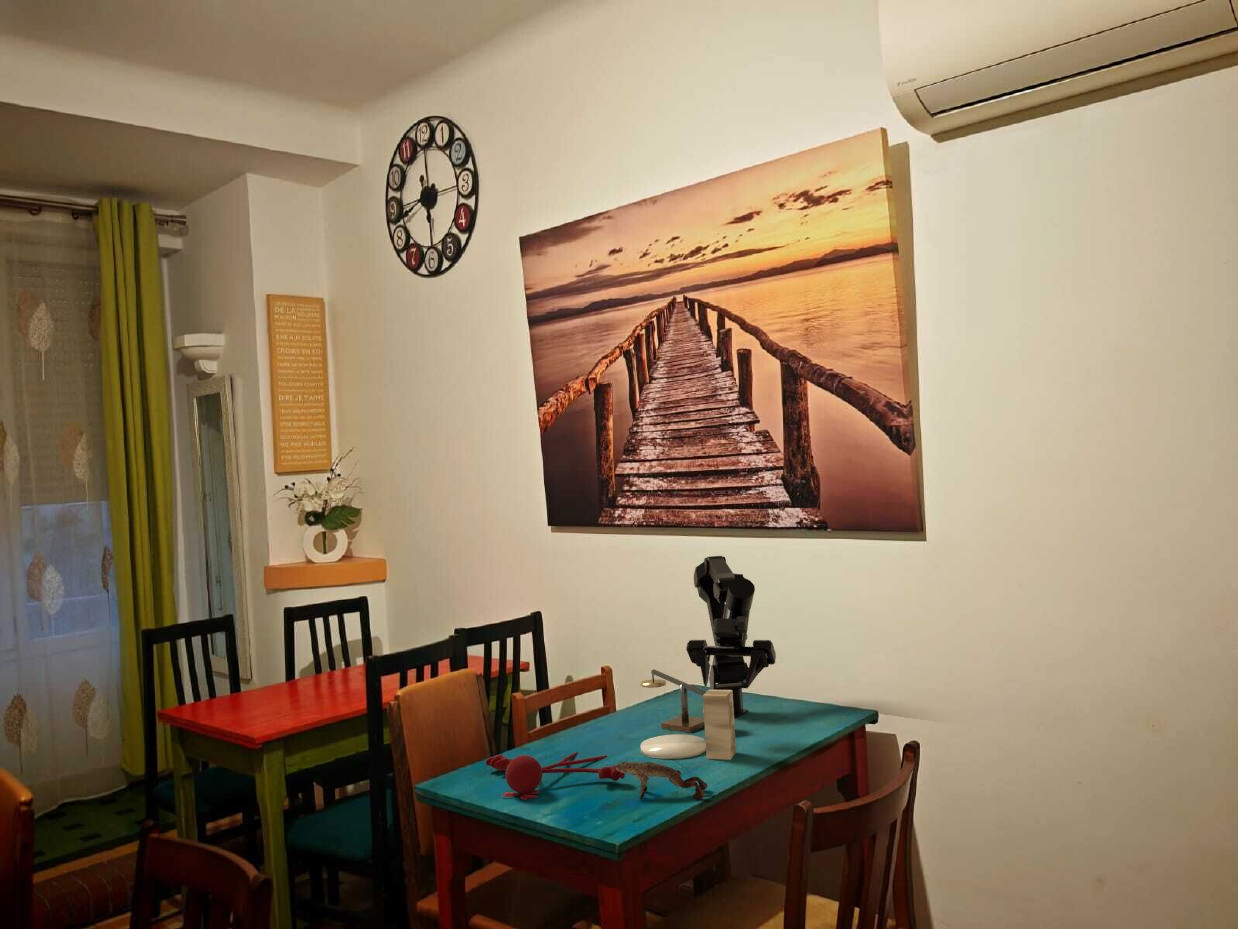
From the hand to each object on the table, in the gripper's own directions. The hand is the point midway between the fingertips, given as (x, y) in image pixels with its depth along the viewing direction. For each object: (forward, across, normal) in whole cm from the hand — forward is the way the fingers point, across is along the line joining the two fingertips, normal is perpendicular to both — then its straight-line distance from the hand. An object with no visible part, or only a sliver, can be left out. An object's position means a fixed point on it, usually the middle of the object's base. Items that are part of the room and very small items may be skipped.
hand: (726, 685), depth 217 cm
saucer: (+12, -11, +6) cm, 18 cm away
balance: (-1, -14, +19) cm, 23 cm away
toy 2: (+32, -5, -14) cm, 35 cm away
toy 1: (+27, -29, -8) cm, 40 cm away
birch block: (+14, 0, +4) cm, 15 cm away
